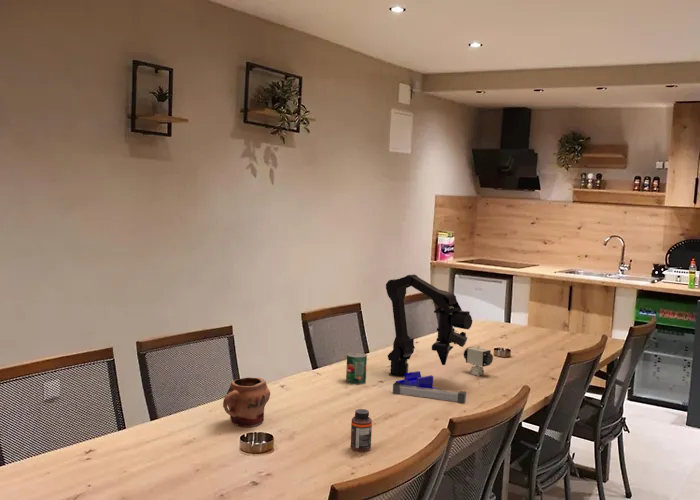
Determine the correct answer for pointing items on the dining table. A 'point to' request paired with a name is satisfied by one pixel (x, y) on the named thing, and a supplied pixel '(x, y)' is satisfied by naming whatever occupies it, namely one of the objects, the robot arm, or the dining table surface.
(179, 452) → the dining table surface
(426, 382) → the mounting bracket
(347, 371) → the canned tomato
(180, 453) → the dining table surface
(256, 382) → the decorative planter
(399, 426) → the dining table surface
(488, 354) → the pneumatic valve
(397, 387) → the rail
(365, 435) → the supplement bottle
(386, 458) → the dining table surface
